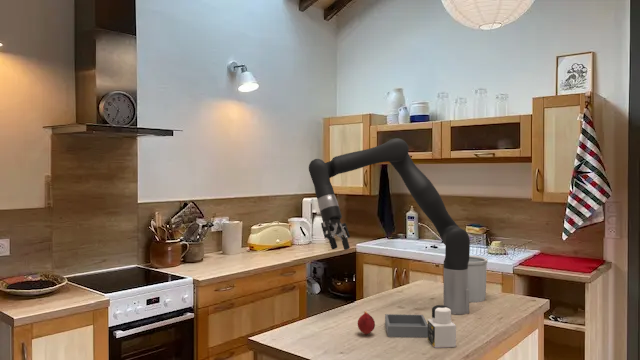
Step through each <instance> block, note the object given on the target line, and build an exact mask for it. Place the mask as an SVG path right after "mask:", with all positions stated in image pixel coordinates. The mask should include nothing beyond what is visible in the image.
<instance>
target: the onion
mask: <svg viewBox="0 0 640 360" xmlns="http://www.w3.org/2000/svg"><path fill="white" fill-rule="evenodd" d="M375 326H376V323H375V319H374V317H372V316H371V314H369V313H368V312H367V311H366V310H364V311H363V314H362V315H360V317H359V318H358V319H357V327H358V329H359V331H360V332H362V333H363V335H364V336H367V335H369V334H370V333H372V332H373V331H374V329H375Z"/></svg>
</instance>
